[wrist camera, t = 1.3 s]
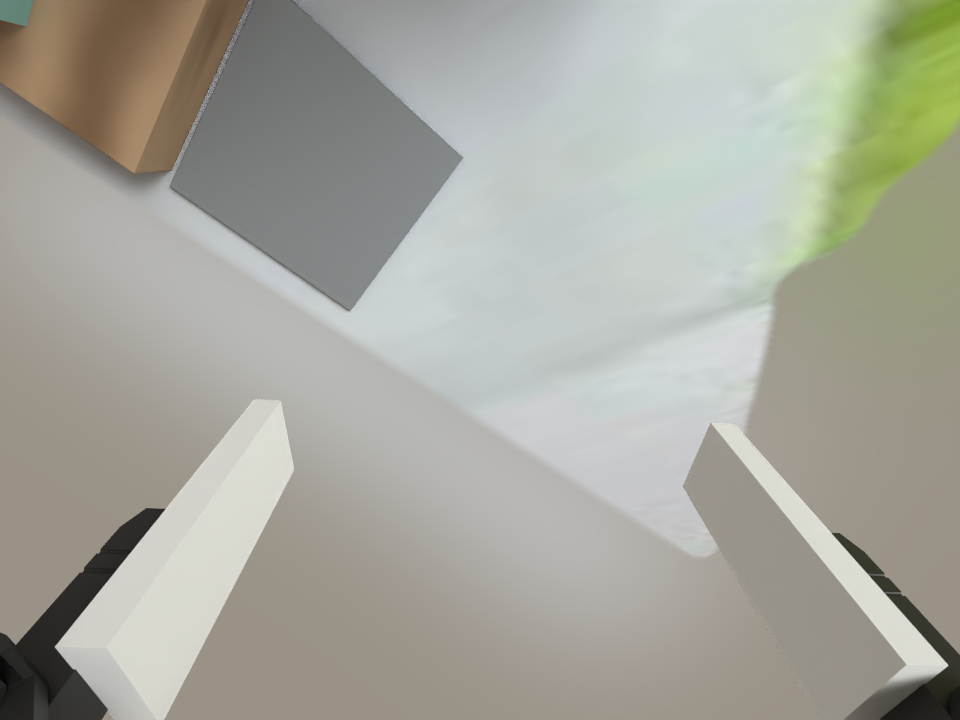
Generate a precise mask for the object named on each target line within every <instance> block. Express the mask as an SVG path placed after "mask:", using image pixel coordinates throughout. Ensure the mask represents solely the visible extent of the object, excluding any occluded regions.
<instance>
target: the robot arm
mask: <svg viewBox="0 0 960 720" xmlns="http://www.w3.org/2000/svg"><path fill="white" fill-rule="evenodd" d="M293 471H294V466H293V461H292V456H291V451H290V446H289V441H288V435H287V430H286V425H285V420H284V415H283V410H282V405H281V401H278V400H259V399H254V400H253V401H252V402H251V404H250V405H249V406H248V407H247V409H246V410H245V411H244V412H243V414H242V415H241V416H240V417H239V419H238V420H237V421H236V422H235V424H234V425H233V426H232V427H231V429H230V430H229V431H228V432H227V434H226V435H225V436H224V437H223V439H222V440H221V441H220V442H219V443H218V445H217V446H216V447H215V448H214V450H213V451H212V452H211V454H210V455H209V456H208V457H207V459H206V460H205V461H204V462H203V463H202V465H201V466H200V467H199V468H198V470H197V471H196V472H195V473H194V475H193V476H192V477H191V478H190V480H189V481H188V482H187V483H186V485H185V486H184V487H183V488H182V490H181V491H180V492H179V493H178V494H177V496H176V497H175V498H174V500H173V501H172V502H171V503H170V504H169V506H168V507H167V508H166V509H152V508H146V509H145V510H143V511H142V512H140V513H139V514H138V515H136V516H135V517H133V518H132V519H131V520H129V521H128V522H126V523H125V524H124V525H122V526H121V527H120V528H119V529H118V530H117V531H116V532H115V533H114V535H113V536H112V537H111V538H110V539H109V540H108V541H107V543H106V544H105V545H104V546H103V547H102V548H101V552H100V553H99V554H96V555H95V556H94V557H93V559H91V561H90V562H89V563H88V564H87V565H86V566H85V568H84V571H83V572H82V573H79V574H78V576H76V578H75V579H74V580H73V581H72V582H71V583H70V584H69V586H68V587H67V588H66V589H65V590H64V591H63V592H62V594H61V595H60V596H59V597H58V598H57V599H56V600H55V602H54V603H53V604H52V605H51V606H50V607H49V608H48V609H47V611H46V612H45V613H44V614H43V615H42V616H41V617H40V619H39V620H38V621H37V622H36V623H35V624H34V625H33V626H32V627H31V629H30V630H29V631H28V632H27V633H26V634H25V635H24V637H23V638H22V639H21V640H20V641H19V642H18V643H17V645H15V644H14V643H13V642H12V641H11V640H10V638H9V637H8V636H7V635H5V634H2V633H0V720H102V718H103V717H104V715H105V714H106V712H108V713H109V714H110V715H111V717H112V718H113V719H114V720H164V718H165V717H166V714H167V713H168V711H169V709H170V707H171V705H172V703H173V701H174V699H175V697H176V695H177V694H178V692H179V690H180V688H181V686H182V684H183V682H184V680H185V678H186V676H187V674H188V672H189V671H190V669H191V667H192V664H193V663H194V661H195V659H196V657H197V655H198V653H199V651H200V649H201V647H202V646H203V644H204V642H205V640H206V638H207V636H208V634H209V632H210V630H211V628H212V626H213V624H214V622H215V621H216V619H217V617H218V615H219V613H220V611H221V609H222V607H223V605H224V603H225V601H226V599H227V597H228V596H229V594H230V592H231V590H232V588H233V586H234V584H235V582H236V580H237V578H238V576H239V575H240V572H241V571H242V569H243V567H244V565H245V563H246V561H247V559H248V557H249V555H250V553H251V552H252V550H253V548H254V546H255V544H256V542H257V540H258V538H259V536H260V534H261V532H262V530H263V528H264V526H265V525H266V523H267V521H268V519H269V517H270V515H271V513H272V511H273V509H274V507H275V505H276V504H277V502H278V500H279V498H280V496H281V494H282V492H283V490H284V488H285V486H286V484H287V482H288V481H289V479H290V477H291V475H292V473H293ZM683 488H684V489H685V491H686V493H687V494H688V496H689V498H690V499H691V501H692V503H693V505H694V506H695V508H696V510H697V511H698V513H699V515H700V516H701V518H702V520H703V522H704V523H705V525H706V527H707V528H708V530H709V532H710V533H711V535H712V537H713V539H714V540H715V542H716V544H717V545H718V547H719V549H720V550H721V552H722V554H723V555H724V557H725V559H726V561H727V562H728V564H729V566H730V567H731V569H732V570H733V572H734V574H735V576H736V578H737V579H738V581H739V583H740V584H741V586H742V588H743V590H744V591H745V593H746V595H747V596H748V598H749V599H750V602H751V603H752V605H753V607H754V608H755V610H756V612H757V613H758V615H759V617H760V619H761V620H762V622H763V624H764V625H765V627H766V629H767V630H768V632H769V634H770V635H771V637H772V639H773V641H774V642H775V644H776V646H777V647H778V649H779V651H780V653H781V654H782V656H783V657H784V659H785V661H786V663H787V664H788V666H789V667H790V670H791V671H792V673H793V675H794V676H795V678H796V680H797V681H798V683H799V685H800V686H801V688H802V690H803V692H804V693H805V695H806V697H807V698H808V700H809V702H810V704H811V705H812V707H813V709H814V710H815V712H816V714H817V715H818V717H819V719H820V720H960V655H959V654H958V653H957V652H956V650H955V649H954V648H953V647H952V646H951V645H950V644H949V643H948V642H947V641H946V640H945V639H944V637H942V635H941V634H940V633H939V632H938V631H937V630H936V629H935V628H934V627H933V626H932V625H931V623H929V622H928V620H927V619H926V618H925V617H924V616H923V615H922V614H921V613H920V612H919V610H918V609H917V608H916V607H915V606H914V605H913V604H912V603H911V602H910V601H909V600H908V599H907V597H906V596H902V595H901V591H900V590H899V589H898V588H897V587H896V586H895V585H894V583H893V582H892V581H891V580H890V579H889V578H886V577H885V576H884V573H883V572H882V571H881V569H880V568H879V567H878V566H877V565H876V564H875V563H874V562H873V561H872V560H871V559H870V558H869V557H868V555H867V554H866V553H865V552H864V551H862V550H861V549H860V548H858V547H857V546H856V545H854V544H853V543H852V542H850V541H849V540H848V539H846V538H845V537H844V536H842V535H841V534H840V533H831V532H830V531H829V530H828V529H827V528H826V527H825V526H824V524H823V523H822V522H821V521H820V520H819V519H818V518H817V517H816V515H815V514H814V513H813V512H812V511H811V510H810V509H809V508H808V506H807V505H806V504H805V503H804V502H803V501H802V500H801V498H800V497H799V496H798V495H797V494H796V493H795V492H794V491H793V489H792V488H791V487H790V486H789V485H788V484H787V483H786V482H785V481H784V480H783V478H782V477H781V476H780V475H779V474H778V473H777V471H776V470H775V469H774V468H773V467H772V466H771V465H770V464H769V462H768V461H767V460H766V459H765V458H764V457H763V456H762V455H761V453H760V452H759V451H758V450H757V449H756V448H755V447H754V445H753V444H752V443H751V442H750V441H749V440H748V439H747V438H746V436H745V435H744V434H743V433H742V432H741V431H740V430H739V429H738V427H737V426H736V425H735V424H724V423H710V426H709V428H708V430H707V433H706V435H705V437H704V439H703V442H702V444H701V446H700V448H699V451H698V453H697V455H696V458H695V460H694V462H693V464H692V467H691V469H690V471H689V473H688V476H687V478H686V480H685V482H684V485H683Z"/></svg>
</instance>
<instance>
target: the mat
mask: <svg viewBox="0 0 960 720" xmlns="http://www.w3.org/2000/svg"><path fill="white" fill-rule="evenodd" d="M462 159H463V157H462V156H460V155H459V154H458V153H457V152H456V151H455V150H454V149H453V148H452V147H451V146H450V145H448V144H447V143H446V142H445V141H444V140H443V139H442V138H441V137H440V136H439V135H438V134H437V133H435V132H434V131H433V130H432V129H431V128H430V127H429V126H428V125H427V124H426V123H425V122H423V121H422V120H421V119H420V118H419V117H418V116H417V115H416V114H415V113H414V112H413V111H412V110H410V109H409V108H408V107H407V106H406V105H405V104H404V103H403V102H402V101H401V100H400V99H398V98H397V97H396V96H395V95H394V94H393V93H392V92H391V91H390V90H389V89H388V88H387V87H385V86H384V85H383V84H382V83H381V82H380V81H379V80H378V79H377V78H376V77H375V76H373V75H372V74H371V73H370V72H369V71H368V70H367V69H366V68H365V67H364V66H363V65H362V64H360V63H359V62H358V61H357V60H356V59H355V58H354V57H353V56H352V55H351V54H350V53H348V52H347V51H346V50H345V49H344V48H343V47H342V46H341V45H340V44H339V43H338V42H337V41H335V40H334V39H333V38H332V37H331V36H330V35H329V34H328V33H327V32H326V31H325V30H323V29H322V28H321V27H320V26H319V25H318V24H317V23H316V22H315V21H314V20H313V19H312V18H310V17H309V16H308V15H307V14H306V13H305V12H304V11H303V10H302V9H301V8H300V7H298V6H297V5H296V4H295V3H294V2H293V1H292V0H255V2H254V4H253V6H252V9H251V11H250V13H249V15H248V17H247V20H246V22H245V24H244V26H243V28H242V30H241V33H240V35H239V37H238V39H237V41H236V43H235V46H234V48H233V50H232V52H231V54H230V56H229V59H228V61H227V63H226V65H225V67H224V70H223V72H222V74H221V76H220V78H219V80H218V83H217V85H216V87H215V89H214V91H213V93H212V96H211V98H210V100H209V102H208V104H207V107H206V109H205V111H204V113H203V115H202V117H201V120H200V122H199V124H198V126H197V128H196V130H195V133H194V135H193V137H192V139H191V141H190V143H189V146H188V148H187V150H186V152H185V154H184V157H183V159H182V161H181V163H180V165H179V167H178V170H177V172H176V174H175V176H174V178H173V180H172V183H171V185H170V187H171V188H173V189H174V190H175V191H177V192H178V193H180V194H181V195H183V196H184V197H186V198H187V199H188V200H190V201H191V202H193V203H194V204H196V205H197V206H199V207H200V208H202V209H203V210H204V211H206V212H207V213H209V214H210V215H212V216H213V217H215V218H216V219H217V220H219V221H220V222H222V223H223V224H225V225H226V226H228V227H229V228H231V229H232V230H233V231H235V232H236V233H238V234H239V235H241V236H242V237H244V238H245V239H246V240H248V241H249V242H251V243H252V244H254V245H255V246H257V247H258V248H259V249H261V250H262V251H264V252H265V253H267V254H268V255H270V256H271V257H273V258H274V259H275V260H277V261H278V262H280V263H281V264H283V265H284V266H286V267H287V268H288V269H290V270H291V271H293V272H294V273H296V274H297V275H299V276H300V277H302V278H303V279H304V280H306V281H307V282H309V283H310V284H312V285H313V286H315V287H316V288H317V289H319V290H320V291H322V292H323V293H325V294H326V295H328V296H329V297H330V298H332V299H333V300H335V301H336V302H338V303H339V304H341V305H342V306H344V307H345V308H346V309H348V310H349V311H350V310H351V309H352V308H353V306H354V305H355V304H356V302H357V301H358V300H359V298H360V297H361V295H362V294H363V293H364V291H365V290H366V289H367V287H368V286H369V285H370V283H371V282H372V281H373V279H374V278H375V277H376V275H377V274H378V272H379V271H380V270H381V268H382V267H383V266H384V264H385V263H386V262H387V260H388V259H389V258H390V256H391V255H392V253H393V252H394V251H395V249H396V248H397V247H398V245H399V244H400V243H401V241H402V240H403V239H404V237H405V236H406V234H407V233H408V232H409V230H410V229H411V228H412V226H413V225H414V224H415V222H416V221H417V220H418V218H419V217H420V215H421V214H422V213H423V211H424V210H425V209H426V207H427V206H428V205H429V203H430V202H431V201H432V199H433V198H434V197H435V195H436V194H437V192H438V191H439V190H440V188H441V187H442V186H443V184H444V183H445V182H446V180H447V179H448V178H449V176H450V175H451V173H452V172H453V171H454V169H455V168H456V167H457V165H458V164H459V163H460V161H461V160H462Z"/></svg>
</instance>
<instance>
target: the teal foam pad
mask: <svg viewBox="0 0 960 720" xmlns="http://www.w3.org/2000/svg"><path fill="white" fill-rule="evenodd" d="M32 3H33V0H0V20H3V21H7V22H10V23H14V24H18V25H22V26H26V25H27V21H28V17H29V14H30V10H31V6H32Z"/></svg>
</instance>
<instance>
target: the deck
mask: <svg viewBox="0 0 960 720" xmlns="http://www.w3.org/2000/svg"><path fill="white" fill-rule="evenodd" d="M248 1H249V0H33V3H32V6H31V10H30V14H29V17H28V21H27V25H26V26H22V25H18V24H14V23H10V22H7V21H3V20H0V83H2V84H3V85H4V86H6V87H7V88H9V89H10V90H12V91H13V92H15V93H16V94H18V95H19V96H21V97H22V98H24V99H25V100H27V101H28V102H29V103H31V104H32V105H34V106H35V107H37V108H38V109H40V110H41V111H43V112H44V113H46V114H47V115H49V116H50V117H51V118H53V119H54V120H56V121H57V122H59V123H60V124H62V125H63V126H65V127H66V128H68V129H69V130H71V131H72V132H73V133H75V134H76V135H78V136H79V137H81V138H82V139H84V140H85V141H87V142H88V143H90V144H91V145H93V146H94V147H96V148H97V149H98V150H100V151H101V152H103V153H104V154H106V155H107V156H109V157H110V158H112V159H113V160H115V161H116V162H118V163H119V164H120V165H122V166H123V167H125V168H126V169H128V170H129V171H131V172H132V173H134V174H136V173H146V172H157V171H167V170H172V168H173V166H174V164H175V162H176V159H177V157H178V155H179V153H180V151H181V148H182V146H183V144H184V142H185V140H186V137H187V135H188V133H189V131H190V129H191V126H192V124H193V122H194V120H195V118H196V115H197V113H198V111H199V109H200V107H201V104H202V102H203V100H204V98H205V96H206V93H207V91H208V89H209V87H210V85H211V82H212V80H213V78H214V76H215V74H216V71H217V69H218V67H219V65H220V63H221V60H222V58H223V56H224V54H225V52H226V49H227V47H228V45H229V43H230V41H231V38H232V36H233V34H234V32H235V30H236V27H237V25H238V23H239V21H240V19H241V16H242V14H243V12H244V10H245V8H246V5H247V3H248Z"/></svg>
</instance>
